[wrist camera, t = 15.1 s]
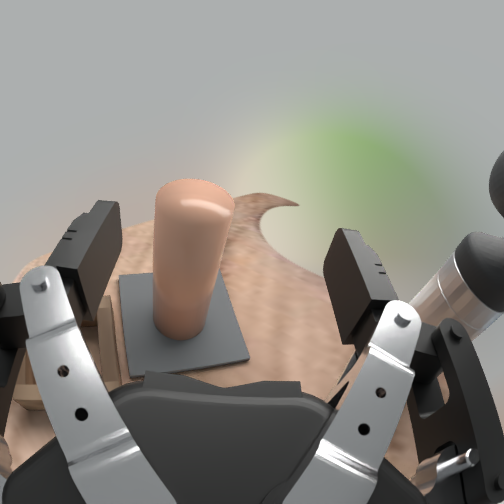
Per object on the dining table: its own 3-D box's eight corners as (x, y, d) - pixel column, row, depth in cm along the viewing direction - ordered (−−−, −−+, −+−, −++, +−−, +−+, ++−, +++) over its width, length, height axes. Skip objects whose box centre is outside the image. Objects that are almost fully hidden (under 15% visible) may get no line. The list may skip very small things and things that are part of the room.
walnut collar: (113, 313, 32) (110, 295, 29) (125, 406, 25) (121, 396, 23) (27, 318, 27) (18, 300, 25) (26, 409, 21) (12, 399, 18)
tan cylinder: (205, 342, 32) (236, 232, 21) (150, 337, 31) (149, 221, 20) (206, 282, 38) (233, 170, 27) (158, 276, 36) (166, 160, 26)
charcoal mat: (218, 270, 40) (219, 267, 40) (248, 359, 33) (250, 357, 32) (119, 278, 35) (118, 275, 35) (130, 377, 27) (129, 375, 27)
